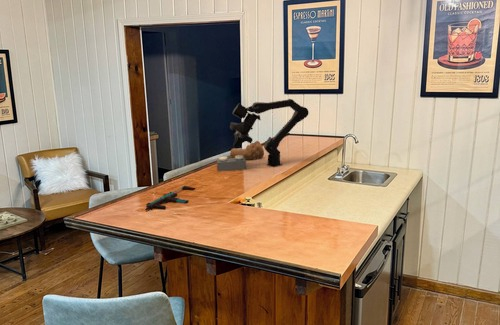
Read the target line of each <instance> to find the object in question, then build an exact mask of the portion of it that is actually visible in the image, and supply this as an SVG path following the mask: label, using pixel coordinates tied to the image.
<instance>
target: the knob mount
mask: <svg viewBox="0 0 500 325" xmlns="http://www.w3.org/2000/svg"><path fill="white" fill-rule="evenodd" d="M216 166H217V167H216V169H217V172H229V171H241V170H242V169H243V170H247V159H246V158H245V157H243V159H241V160H236V159H235V158H231V157H230V158H227V160H226V161H219V158H218V159H216Z"/></svg>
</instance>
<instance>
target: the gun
mask: <svg viewBox="0 0 500 325" xmlns="http://www.w3.org/2000/svg"><path fill="white" fill-rule="evenodd" d="M180 190H182V191H195V190H196V187H192V186H187V185H184V186H182V187H180V188H178V189H176V190H175V191H173V192H172V191H169V192H168V193H165V194H163V195H162V196H160V197H158V198H157V199H155V200H152V201H151V202H147V203H146V208H145V211H149V210H150V209H151V210H153V209H160V210H166V209H167V206H166V205H164V204H168V203H174V204H177V203H178V204H184V205H185V204H186V205H187V204H188V203H189V199H181V198H179V197H178V193H176V192H177V191H180ZM162 204H163V205H162Z"/></svg>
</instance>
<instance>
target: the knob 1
mask: <svg viewBox="0 0 500 325" xmlns="http://www.w3.org/2000/svg"><path fill="white" fill-rule="evenodd" d="M218 159H219V161H226V160H227V159H228V156H218Z"/></svg>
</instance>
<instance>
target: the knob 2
mask: <svg viewBox="0 0 500 325" xmlns="http://www.w3.org/2000/svg"><path fill="white" fill-rule="evenodd" d="M235 159H236V160H241V159H243V155H237V156H235Z"/></svg>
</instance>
